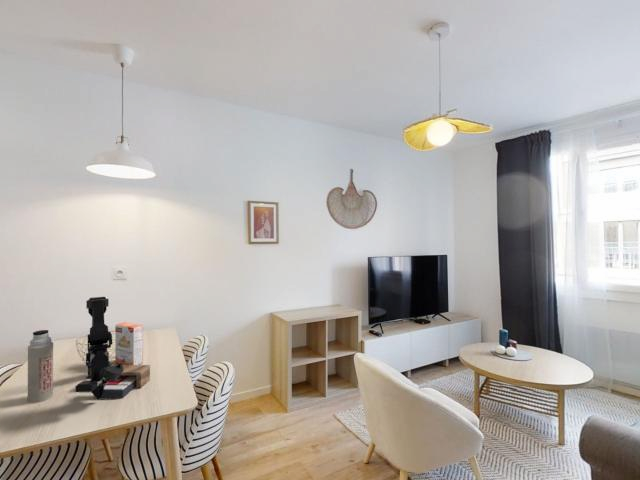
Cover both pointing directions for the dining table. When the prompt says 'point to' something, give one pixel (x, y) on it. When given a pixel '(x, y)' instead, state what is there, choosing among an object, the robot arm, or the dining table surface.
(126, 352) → the cracker box
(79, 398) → the dining table surface
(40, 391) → the thermos bottle
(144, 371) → the overhang shelf
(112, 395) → the calculator
